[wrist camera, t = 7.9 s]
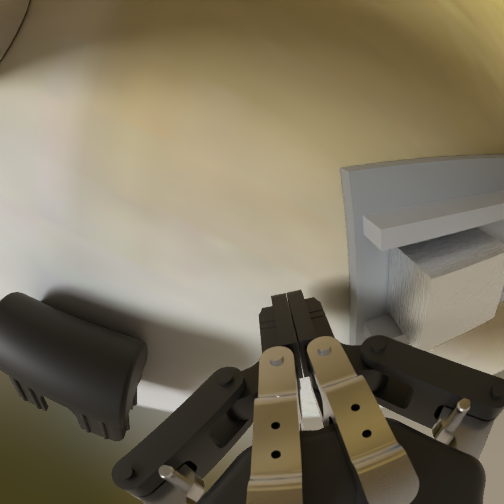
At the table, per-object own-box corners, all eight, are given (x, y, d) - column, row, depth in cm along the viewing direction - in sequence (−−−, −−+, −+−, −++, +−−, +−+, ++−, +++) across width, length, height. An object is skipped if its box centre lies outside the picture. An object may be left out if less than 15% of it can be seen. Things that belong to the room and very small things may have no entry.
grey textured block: (389, 240, 13) (431, 279, 9) (482, 218, 12) (525, 243, 9) (386, 308, 15) (416, 353, 11) (473, 278, 14) (507, 309, 11)
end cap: (154, 315, 16) (120, 403, 10) (147, 381, 19) (127, 453, 13) (30, 270, 14) (-27, 325, 8) (42, 340, 17) (6, 396, 11)
